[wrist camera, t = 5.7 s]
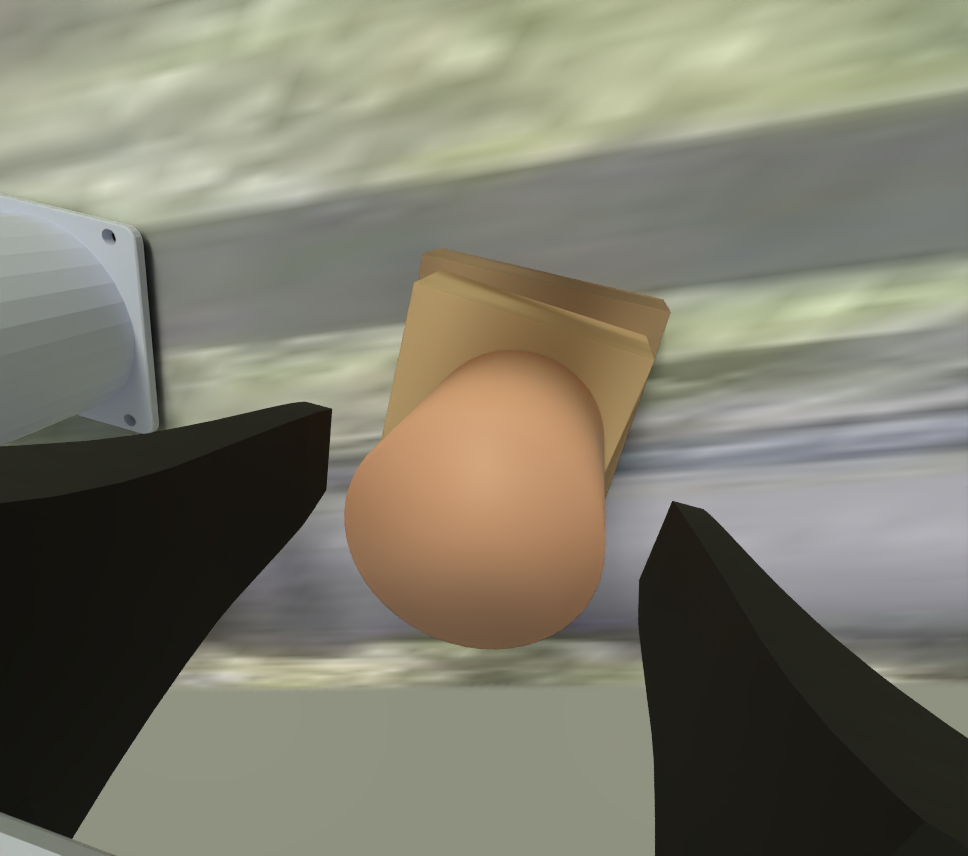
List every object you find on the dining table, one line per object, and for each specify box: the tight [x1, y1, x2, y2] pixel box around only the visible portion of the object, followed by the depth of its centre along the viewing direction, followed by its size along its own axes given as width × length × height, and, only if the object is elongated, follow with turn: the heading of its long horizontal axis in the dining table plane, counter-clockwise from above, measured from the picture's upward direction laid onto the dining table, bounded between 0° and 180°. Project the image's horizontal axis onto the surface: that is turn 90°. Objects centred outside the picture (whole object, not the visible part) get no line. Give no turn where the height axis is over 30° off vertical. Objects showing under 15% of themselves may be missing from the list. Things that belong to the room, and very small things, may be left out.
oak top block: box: [381, 270, 655, 473], centre depth 15 cm, size 6×6×2 cm
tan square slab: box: [419, 248, 671, 498], centre depth 17 cm, size 7×7×2 cm
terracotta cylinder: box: [344, 350, 605, 649], centre depth 11 cm, size 5×5×5 cm
